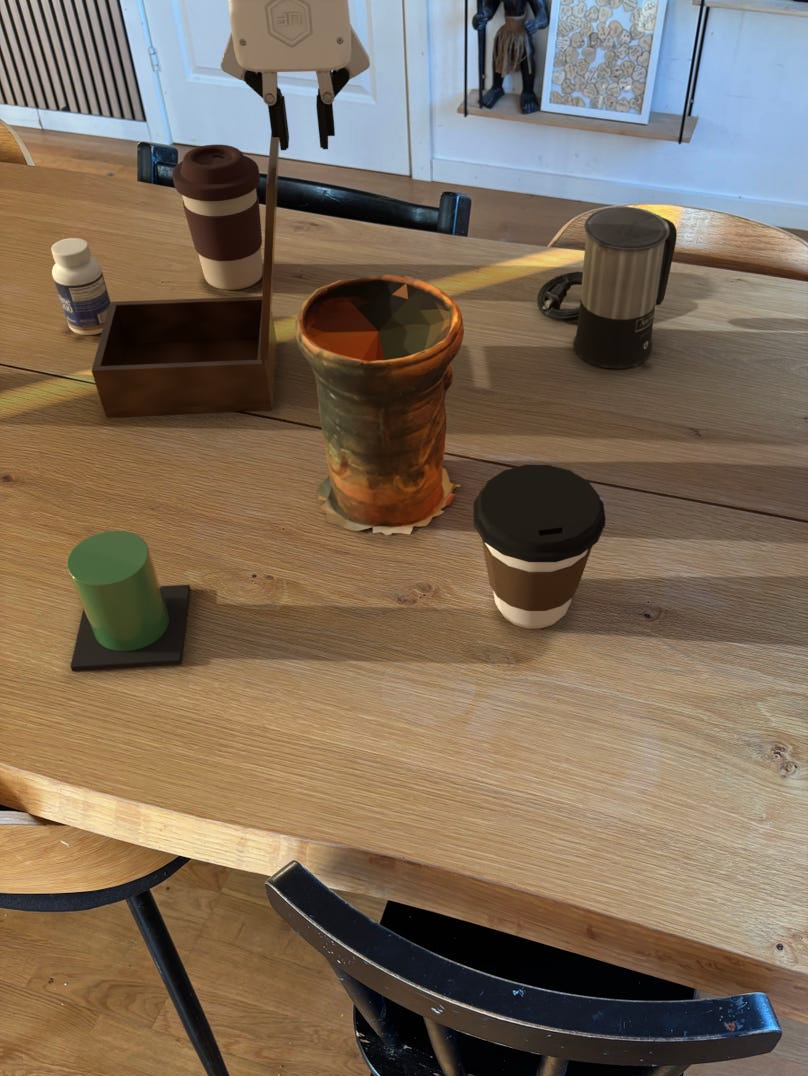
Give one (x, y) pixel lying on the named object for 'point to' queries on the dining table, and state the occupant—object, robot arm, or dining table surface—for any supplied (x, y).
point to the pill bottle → (80, 286)
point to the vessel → (382, 397)
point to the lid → (269, 245)
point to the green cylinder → (119, 590)
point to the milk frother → (616, 286)
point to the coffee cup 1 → (222, 213)
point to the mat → (156, 654)
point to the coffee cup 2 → (537, 539)
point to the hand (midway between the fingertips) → (304, 142)
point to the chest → (184, 357)
